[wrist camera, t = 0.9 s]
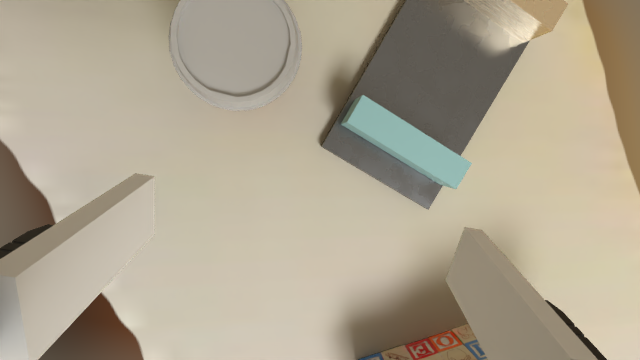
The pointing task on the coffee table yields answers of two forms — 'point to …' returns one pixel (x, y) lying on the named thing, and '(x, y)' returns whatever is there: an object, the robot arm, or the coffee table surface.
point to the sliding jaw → (405, 142)
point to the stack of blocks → (438, 348)
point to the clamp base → (440, 78)
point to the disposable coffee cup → (235, 50)
